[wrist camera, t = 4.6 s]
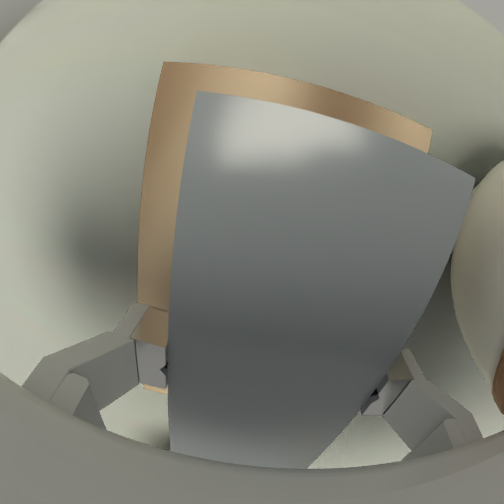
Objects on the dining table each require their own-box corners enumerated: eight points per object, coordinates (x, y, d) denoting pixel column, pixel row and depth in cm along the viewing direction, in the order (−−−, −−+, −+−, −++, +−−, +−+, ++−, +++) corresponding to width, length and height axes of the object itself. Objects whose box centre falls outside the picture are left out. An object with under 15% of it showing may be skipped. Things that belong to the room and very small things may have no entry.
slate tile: (424, 162, 7) (475, 178, 4) (300, 430, 12) (303, 471, 10) (219, 105, 7) (197, 90, 4) (181, 413, 12) (170, 454, 9)
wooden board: (419, 129, 9) (432, 130, 8) (309, 403, 15) (311, 416, 14) (172, 67, 8) (163, 62, 8) (148, 376, 15) (143, 388, 14)
